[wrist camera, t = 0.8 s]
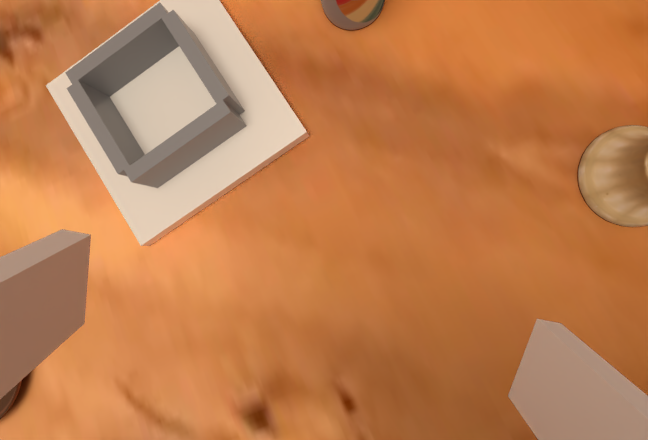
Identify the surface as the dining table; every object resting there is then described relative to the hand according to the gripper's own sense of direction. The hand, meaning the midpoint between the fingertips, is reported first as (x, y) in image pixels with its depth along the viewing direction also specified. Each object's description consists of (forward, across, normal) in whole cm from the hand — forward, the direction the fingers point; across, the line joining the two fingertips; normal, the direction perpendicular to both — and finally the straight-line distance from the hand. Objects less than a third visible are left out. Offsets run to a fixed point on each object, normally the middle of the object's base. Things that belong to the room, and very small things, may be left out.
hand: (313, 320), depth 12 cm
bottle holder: (+29, +14, -3) cm, 32 cm away
